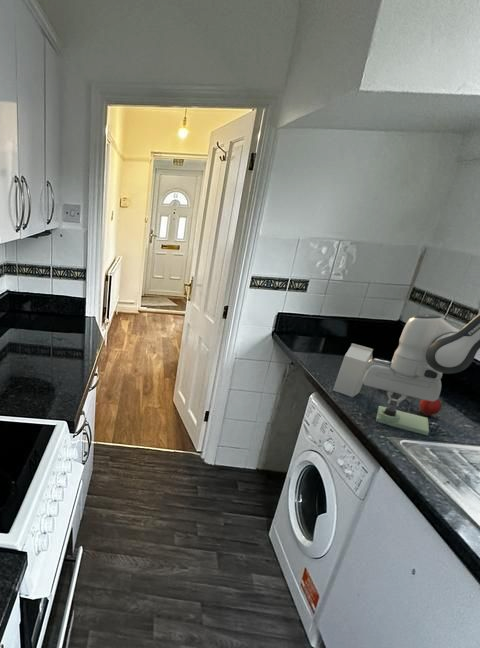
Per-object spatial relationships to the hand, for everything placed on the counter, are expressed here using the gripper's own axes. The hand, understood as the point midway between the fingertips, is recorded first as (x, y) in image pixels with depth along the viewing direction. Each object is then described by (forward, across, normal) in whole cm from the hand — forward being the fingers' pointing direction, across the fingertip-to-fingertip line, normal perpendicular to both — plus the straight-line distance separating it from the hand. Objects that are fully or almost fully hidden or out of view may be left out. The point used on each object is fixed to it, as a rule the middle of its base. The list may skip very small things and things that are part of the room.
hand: (392, 404), depth 135 cm
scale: (+6, +4, +4) cm, 8 cm away
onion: (+6, +11, +16) cm, 20 cm away
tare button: (+4, 0, 0) cm, 4 cm away
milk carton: (+6, -14, +18) cm, 23 cm away
